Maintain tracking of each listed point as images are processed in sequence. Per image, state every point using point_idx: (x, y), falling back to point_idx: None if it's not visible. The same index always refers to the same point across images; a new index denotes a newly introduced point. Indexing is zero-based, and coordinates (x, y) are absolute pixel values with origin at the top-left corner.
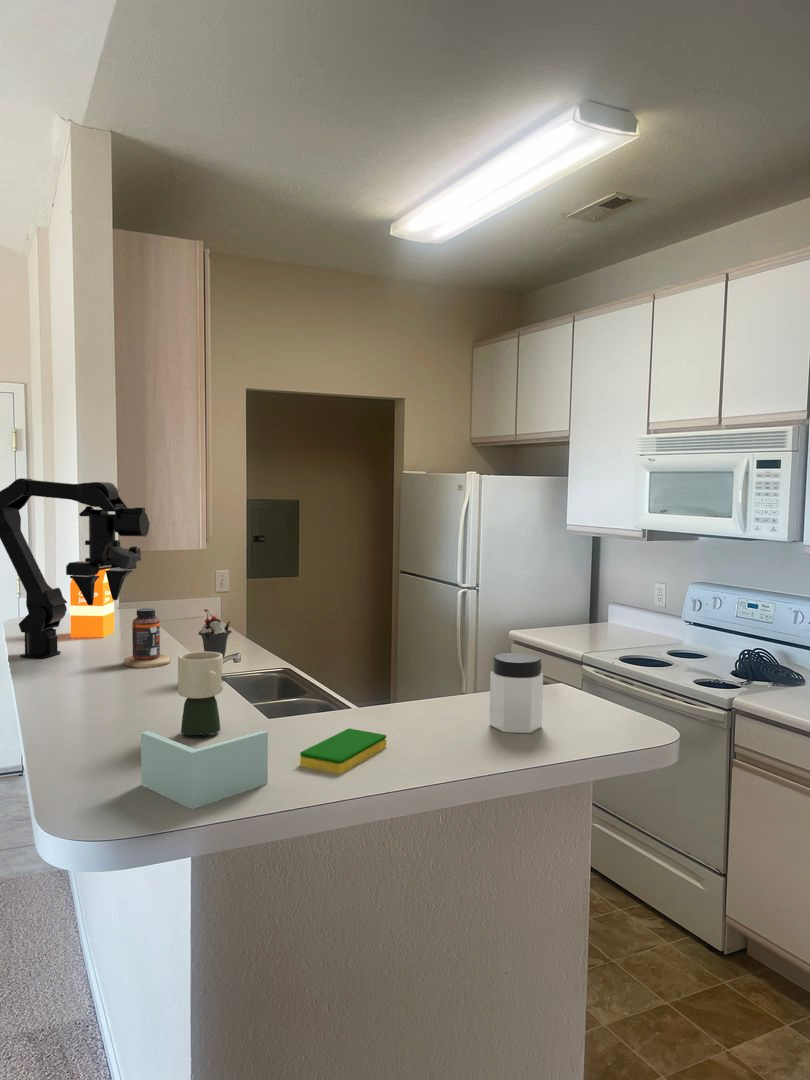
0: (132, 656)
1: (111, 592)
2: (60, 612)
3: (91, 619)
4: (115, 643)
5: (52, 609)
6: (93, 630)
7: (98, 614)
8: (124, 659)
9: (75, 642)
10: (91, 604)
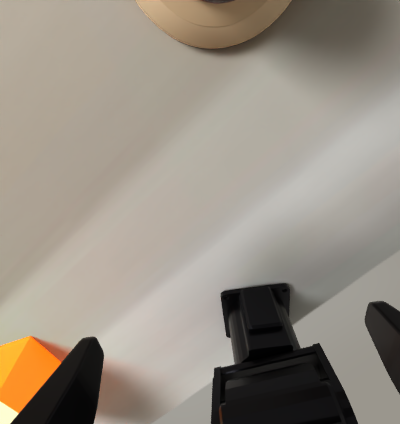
0: (207, 40)
1: (91, 416)
2: (267, 397)
3: (26, 402)
4: (48, 278)
5: (332, 410)
6: (37, 368)
7: (3, 409)
8: (266, 27)
9: (107, 345)
10: (387, 304)
